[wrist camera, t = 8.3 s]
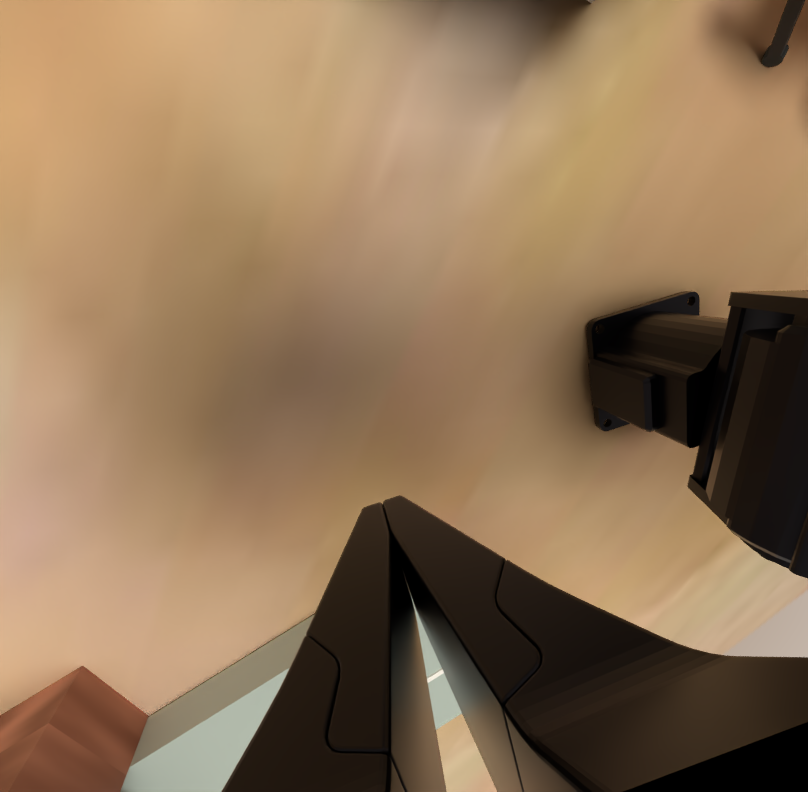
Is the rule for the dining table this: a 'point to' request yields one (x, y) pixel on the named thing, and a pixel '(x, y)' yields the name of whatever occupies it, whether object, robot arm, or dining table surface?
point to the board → (237, 718)
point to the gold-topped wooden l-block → (69, 738)
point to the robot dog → (783, 34)
